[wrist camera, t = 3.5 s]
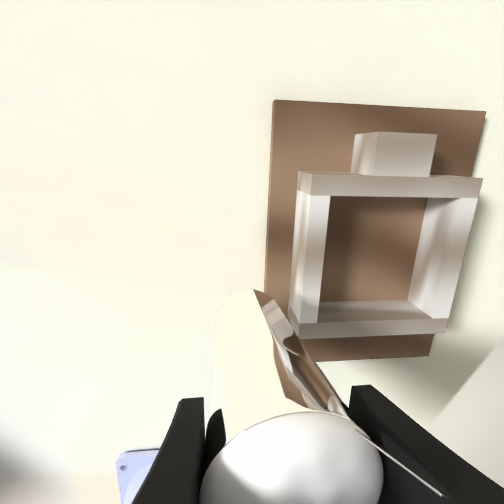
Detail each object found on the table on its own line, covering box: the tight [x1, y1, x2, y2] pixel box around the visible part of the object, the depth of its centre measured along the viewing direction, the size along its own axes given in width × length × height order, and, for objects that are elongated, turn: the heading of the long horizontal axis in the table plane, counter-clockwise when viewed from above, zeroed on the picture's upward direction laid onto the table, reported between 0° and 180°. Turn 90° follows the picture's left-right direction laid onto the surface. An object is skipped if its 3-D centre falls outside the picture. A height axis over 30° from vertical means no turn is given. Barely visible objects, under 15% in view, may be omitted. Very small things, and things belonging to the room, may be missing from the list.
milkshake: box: [199, 289, 454, 504], centre depth 10 cm, size 4×5×10 cm
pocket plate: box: [264, 100, 486, 362], centre depth 18 cm, size 16×12×3 cm
